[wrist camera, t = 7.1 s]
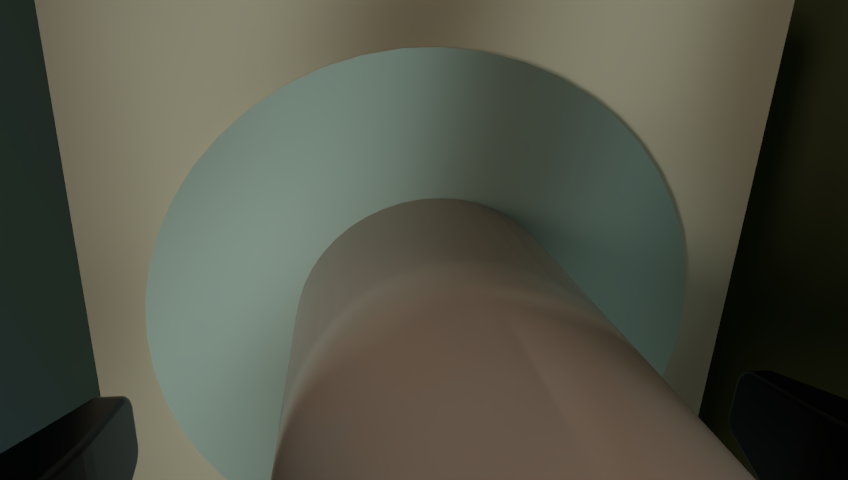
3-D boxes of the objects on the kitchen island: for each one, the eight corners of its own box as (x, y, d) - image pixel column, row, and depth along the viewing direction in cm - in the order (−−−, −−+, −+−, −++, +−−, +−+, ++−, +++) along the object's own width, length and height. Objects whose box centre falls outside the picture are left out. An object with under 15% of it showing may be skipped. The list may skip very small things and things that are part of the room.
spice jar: (578, 198, 10) (1128, 597, 3) (547, 432, 12) (858, 1045, 5) (290, 198, 10) (138, 708, 2) (300, 446, 11) (227, 1185, 4)
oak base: (709, 4, 12) (803, -3, 10) (621, 470, 16) (672, 551, 14) (96, -29, 11) (19, -47, 8) (166, 498, 15) (129, 596, 12)
